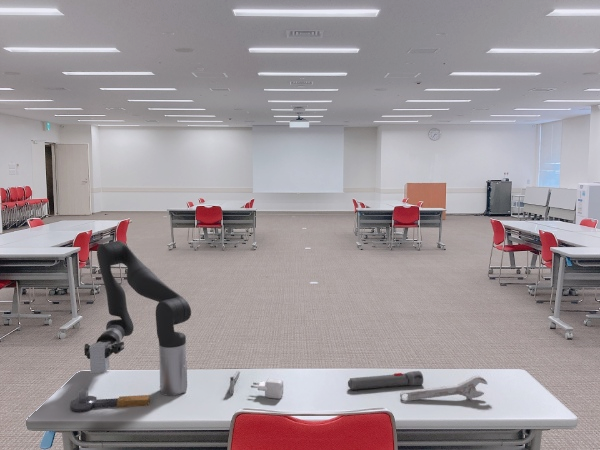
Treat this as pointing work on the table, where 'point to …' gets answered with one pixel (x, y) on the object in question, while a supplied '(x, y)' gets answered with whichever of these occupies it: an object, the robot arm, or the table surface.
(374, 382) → the flashlight
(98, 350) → the brushed metal block
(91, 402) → the ratchet
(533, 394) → the table surface
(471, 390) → the wrench
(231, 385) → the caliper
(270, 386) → the power adapter
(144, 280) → the robot arm
